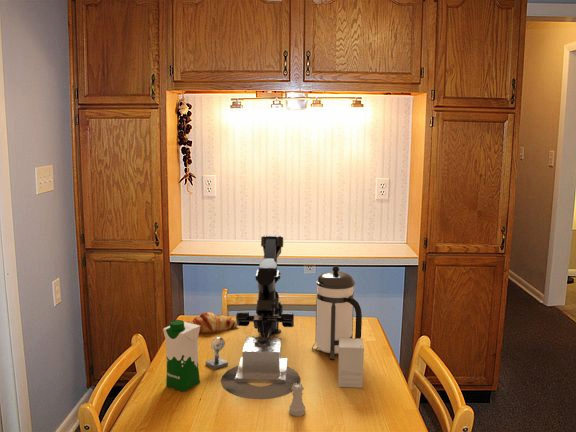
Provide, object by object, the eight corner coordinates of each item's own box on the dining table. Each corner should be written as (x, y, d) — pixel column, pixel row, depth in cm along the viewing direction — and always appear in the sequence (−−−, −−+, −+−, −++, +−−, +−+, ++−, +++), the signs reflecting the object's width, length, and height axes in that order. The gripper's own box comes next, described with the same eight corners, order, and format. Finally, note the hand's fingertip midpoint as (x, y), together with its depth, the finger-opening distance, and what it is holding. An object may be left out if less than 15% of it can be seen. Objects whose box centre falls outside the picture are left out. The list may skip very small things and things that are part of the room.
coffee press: (307, 359, 182) (308, 271, 176) (316, 340, 197) (317, 259, 192) (359, 365, 178) (363, 275, 172) (365, 346, 193) (368, 262, 188)
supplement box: (362, 377, 170) (363, 338, 167) (362, 388, 162) (364, 348, 160) (337, 375, 170) (338, 337, 168) (337, 387, 163) (338, 346, 161)
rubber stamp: (218, 360, 180) (218, 332, 178) (227, 365, 177) (227, 336, 175) (205, 364, 177) (205, 336, 175) (215, 370, 173) (214, 341, 171)
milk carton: (161, 386, 162) (159, 321, 159) (182, 374, 170) (180, 312, 166) (184, 394, 158) (183, 328, 154) (204, 382, 165) (203, 318, 162)
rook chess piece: (288, 408, 151) (288, 381, 149) (304, 408, 151) (305, 380, 150) (289, 417, 146) (289, 389, 145) (306, 416, 147) (306, 388, 145)
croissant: (237, 333, 213) (236, 312, 215) (241, 329, 203) (240, 308, 206) (181, 336, 207) (180, 315, 210) (183, 333, 198) (182, 311, 200)
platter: (265, 356, 184) (265, 355, 184) (317, 381, 167) (317, 380, 167) (205, 378, 168) (205, 377, 168) (255, 408, 150) (255, 408, 150)
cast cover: (241, 360, 180) (241, 334, 178) (287, 361, 179) (287, 335, 178) (235, 382, 165) (235, 353, 164) (285, 383, 165) (285, 354, 163)
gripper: (236, 288, 180) (232, 333, 171) (294, 289, 179) (292, 334, 170) (239, 303, 189) (235, 347, 180) (294, 304, 188) (293, 348, 179)
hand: (263, 344), depth 177 cm, fingers closed
